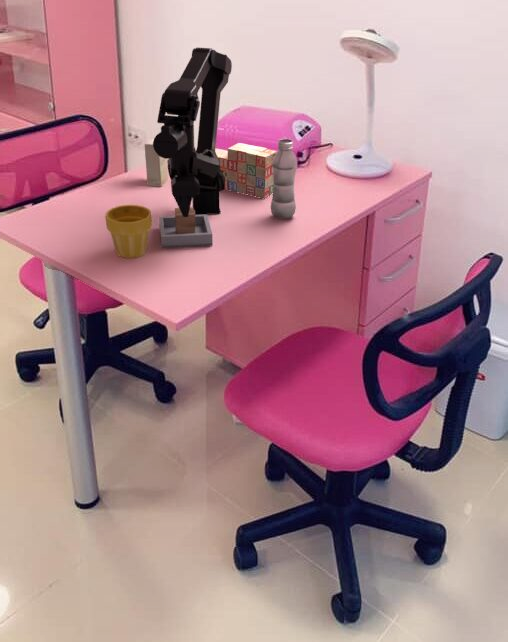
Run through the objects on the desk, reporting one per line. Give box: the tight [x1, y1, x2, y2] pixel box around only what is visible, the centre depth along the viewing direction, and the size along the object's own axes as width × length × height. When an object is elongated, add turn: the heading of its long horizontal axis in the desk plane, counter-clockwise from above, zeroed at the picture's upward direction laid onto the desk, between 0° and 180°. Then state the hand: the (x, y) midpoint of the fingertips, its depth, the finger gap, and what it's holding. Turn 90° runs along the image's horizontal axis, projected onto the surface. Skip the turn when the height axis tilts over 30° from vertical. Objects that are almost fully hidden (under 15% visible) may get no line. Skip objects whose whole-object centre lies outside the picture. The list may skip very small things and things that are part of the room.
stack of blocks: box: [215, 142, 278, 200], centre depth 202 cm, size 21×6×12 cm, turn 58°
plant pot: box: [104, 204, 153, 259], centre depth 166 cm, size 10×10×10 cm
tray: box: [158, 214, 214, 249], centre depth 176 cm, size 12×12×3 cm
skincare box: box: [144, 137, 169, 187], centre depth 205 cm, size 6×4×12 cm
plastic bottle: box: [270, 138, 298, 220], centre depth 183 cm, size 6×7×20 cm
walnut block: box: [174, 206, 196, 234], centre depth 175 cm, size 4×4×6 cm
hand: (184, 209), depth 173 cm, fingers open, 9 cm apart
